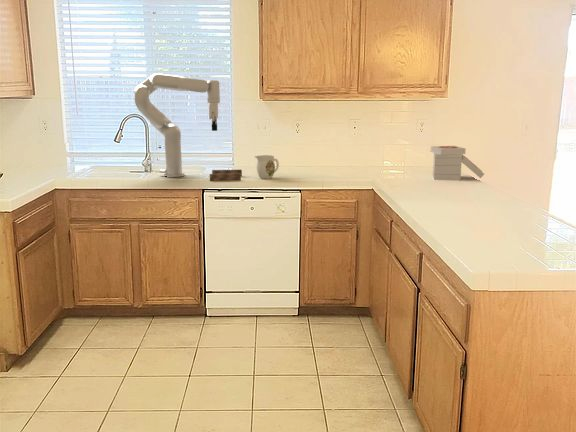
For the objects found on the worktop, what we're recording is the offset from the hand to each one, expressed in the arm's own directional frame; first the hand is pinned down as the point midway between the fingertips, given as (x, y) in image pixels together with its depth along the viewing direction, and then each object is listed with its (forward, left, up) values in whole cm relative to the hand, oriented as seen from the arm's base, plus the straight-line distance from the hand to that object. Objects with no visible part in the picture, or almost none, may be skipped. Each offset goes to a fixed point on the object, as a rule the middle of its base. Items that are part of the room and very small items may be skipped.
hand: (214, 130), depth 370 cm
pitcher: (+32, -21, -27) cm, 47 cm away
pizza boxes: (+144, -31, -27) cm, 150 cm away
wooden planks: (+8, -21, -27) cm, 35 cm away
